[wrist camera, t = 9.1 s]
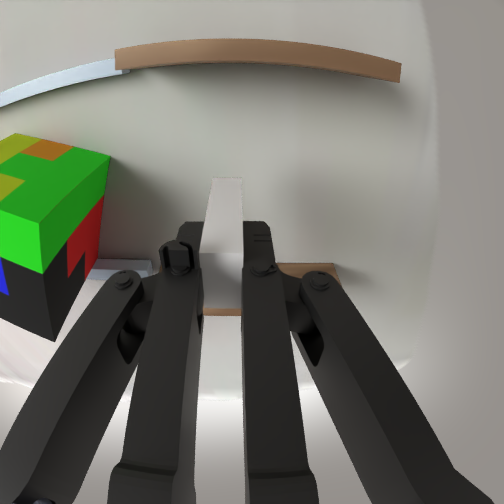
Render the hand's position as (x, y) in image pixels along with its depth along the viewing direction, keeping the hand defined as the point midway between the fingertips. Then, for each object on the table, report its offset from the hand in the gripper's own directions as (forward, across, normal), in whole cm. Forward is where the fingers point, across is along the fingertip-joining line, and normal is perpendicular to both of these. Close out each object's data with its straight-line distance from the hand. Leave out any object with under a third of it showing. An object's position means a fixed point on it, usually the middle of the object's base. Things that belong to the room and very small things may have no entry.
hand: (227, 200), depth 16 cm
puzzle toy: (+6, -15, -2) cm, 17 cm away
